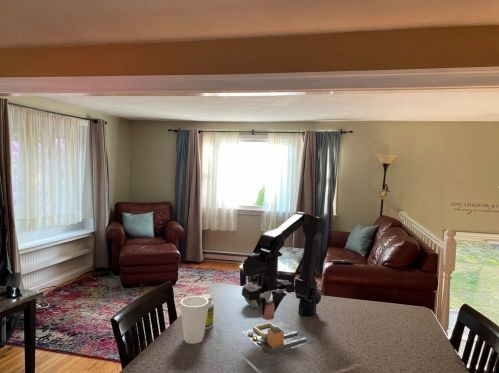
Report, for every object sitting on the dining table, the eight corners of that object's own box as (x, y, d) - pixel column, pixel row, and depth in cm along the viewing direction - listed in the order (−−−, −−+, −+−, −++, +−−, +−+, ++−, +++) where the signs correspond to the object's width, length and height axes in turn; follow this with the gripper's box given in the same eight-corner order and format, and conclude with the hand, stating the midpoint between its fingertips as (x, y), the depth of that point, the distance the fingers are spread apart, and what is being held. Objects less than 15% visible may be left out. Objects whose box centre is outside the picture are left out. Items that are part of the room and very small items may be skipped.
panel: (283, 323, 132) (283, 319, 132) (313, 344, 117) (313, 339, 117) (241, 334, 123) (241, 329, 123) (268, 358, 108) (268, 353, 108)
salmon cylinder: (276, 318, 122) (277, 302, 122) (265, 320, 120) (266, 304, 119) (269, 313, 126) (270, 298, 126) (258, 315, 124) (259, 300, 123)
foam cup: (212, 335, 121) (213, 298, 120) (200, 348, 112) (201, 309, 112) (188, 330, 124) (188, 294, 123) (174, 342, 116) (174, 304, 115)
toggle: (277, 340, 117) (277, 325, 117) (283, 345, 114) (284, 330, 114) (267, 343, 115) (267, 328, 115) (273, 348, 112) (273, 332, 112)
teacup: (241, 299, 154) (242, 281, 153) (270, 300, 154) (271, 282, 153) (241, 314, 139) (241, 294, 138) (272, 315, 139) (273, 295, 138)
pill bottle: (210, 330, 124) (210, 300, 123) (193, 328, 125) (194, 298, 125) (215, 323, 130) (216, 294, 130) (199, 321, 132) (200, 292, 131)
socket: (269, 325, 128) (269, 322, 128) (281, 333, 122) (281, 330, 122) (253, 329, 124) (253, 326, 124) (264, 338, 118) (264, 335, 118)
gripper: (277, 260, 133) (276, 300, 135) (234, 267, 124) (233, 309, 125) (296, 268, 124) (294, 311, 125) (250, 276, 114) (249, 322, 115)
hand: (267, 313), depth 123 cm, fingers closed on salmon cylinder, 4 cm apart
